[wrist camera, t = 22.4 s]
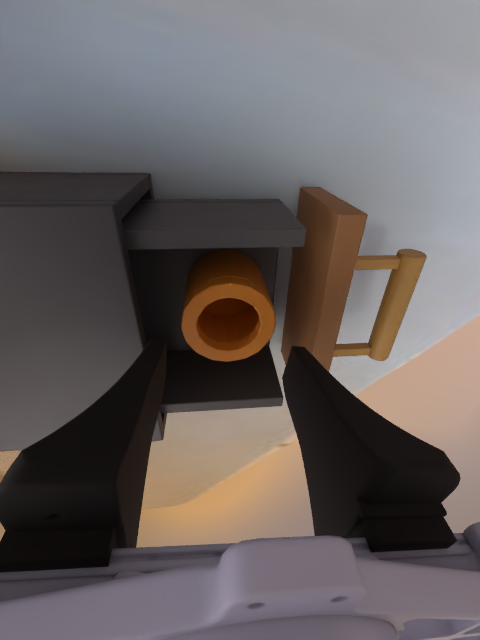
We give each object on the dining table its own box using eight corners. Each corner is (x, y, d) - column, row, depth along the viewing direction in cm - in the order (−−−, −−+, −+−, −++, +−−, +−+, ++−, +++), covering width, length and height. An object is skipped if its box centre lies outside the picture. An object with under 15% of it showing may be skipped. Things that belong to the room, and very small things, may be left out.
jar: (171, 276, 18) (161, 316, 14) (236, 233, 17) (244, 265, 13) (215, 328, 21) (216, 374, 17) (274, 293, 20) (291, 334, 16)
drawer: (400, 186, 18) (480, 213, 12) (353, 347, 24) (392, 407, 19) (99, 186, 16) (48, 216, 11) (138, 357, 23) (118, 425, 18)
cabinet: (150, 172, 17) (113, 204, 10) (175, 354, 24) (163, 440, 18) (-109, 171, 16) (-339, 206, 9) (1, 362, 23) (-82, 457, 16)
